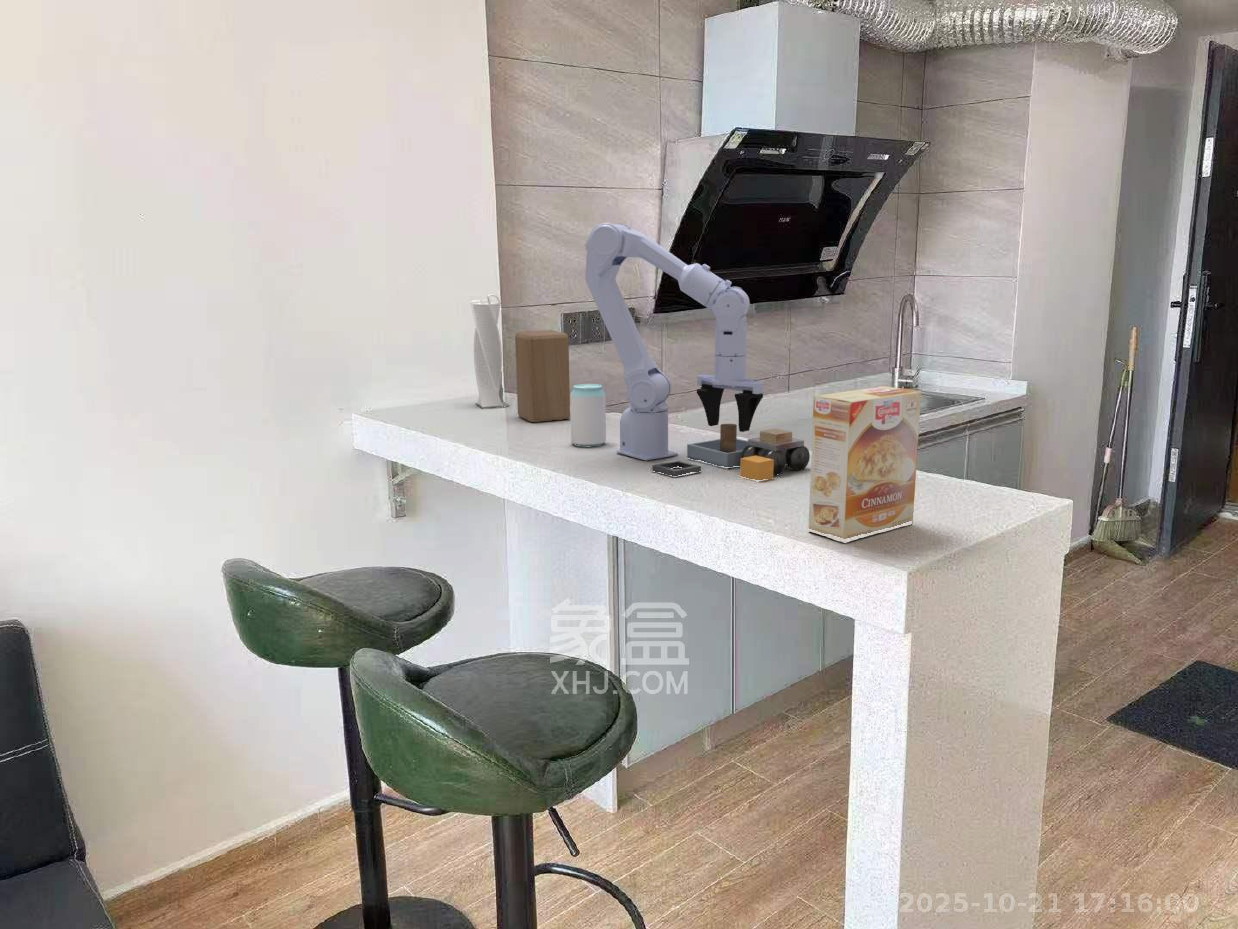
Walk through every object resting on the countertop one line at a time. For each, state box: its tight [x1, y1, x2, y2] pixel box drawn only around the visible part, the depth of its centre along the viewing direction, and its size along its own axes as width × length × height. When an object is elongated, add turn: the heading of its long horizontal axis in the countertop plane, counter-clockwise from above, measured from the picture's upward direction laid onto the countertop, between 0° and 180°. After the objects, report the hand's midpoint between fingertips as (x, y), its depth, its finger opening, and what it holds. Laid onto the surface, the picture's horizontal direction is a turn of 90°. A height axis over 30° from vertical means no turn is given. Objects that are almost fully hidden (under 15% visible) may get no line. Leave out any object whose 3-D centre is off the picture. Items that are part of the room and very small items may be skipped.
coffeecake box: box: [807, 385, 922, 539], centre depth 136 cm, size 15×7×20 cm, turn 126°
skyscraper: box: [470, 293, 511, 409], centre depth 241 cm, size 8×8×28 cm
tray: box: [686, 438, 766, 467], centre depth 181 cm, size 11×11×3 cm
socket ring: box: [651, 460, 702, 476], centre depth 172 cm, size 6×6×1 cm
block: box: [514, 329, 571, 423], centre depth 224 cm, size 10×10×20 cm
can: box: [570, 383, 607, 447], centre depth 196 cm, size 7×7×12 cm
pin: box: [719, 423, 738, 453], centre depth 181 cm, size 3×3×6 cm
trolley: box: [741, 428, 811, 476], centre depth 173 cm, size 7×10×7 cm
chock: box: [739, 455, 774, 480], centre depth 167 cm, size 4×4×4 cm
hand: (728, 428), depth 180 cm, fingers open, 7 cm apart
